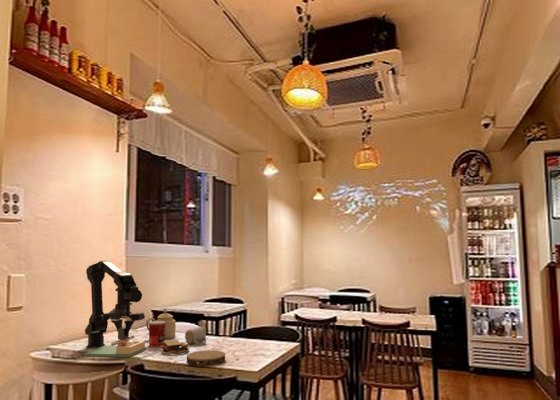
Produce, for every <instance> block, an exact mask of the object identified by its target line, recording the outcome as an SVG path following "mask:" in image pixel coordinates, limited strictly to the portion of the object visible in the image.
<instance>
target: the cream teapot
mask: <svg viewBox="0 0 560 400" xmlns="http://www.w3.org/2000/svg"><path fill="white" fill-rule="evenodd" d="M173 317H174V315H172V314H170V313H168V310H167V308H164V309H163V313H161V314H159V315H158V316H157V319H156V320H155V318H153V317H149V318H148V319H146V321H145V322H146V323H145V326H146V330H147V331H149V322H150V321H151V320H152V321H165V340H167V339H172V338H174V337H176V324H177V323H176V319H174V318H173Z"/></svg>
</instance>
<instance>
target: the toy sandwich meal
mask: <svg viewBox="0 0 560 400" xmlns="http://www.w3.org/2000/svg"><path fill="white" fill-rule="evenodd" d="M188 347H189V344H188V343H186V344H185V343H184V342H183V341H181V342H180V341H179V340H178V339H168V340H167V339H166V340H165V341H163V345H162V346H160V348H161V352H160V353H162V354H163V353H164V354H163V355H165V354H180V355H182V354H181V353H185V354H187V353H189V351H190V348H188ZM186 352H187V353H186Z"/></svg>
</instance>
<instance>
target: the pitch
mask: <svg viewBox="0 0 560 400" xmlns="http://www.w3.org/2000/svg"><path fill="white" fill-rule="evenodd" d="M132 341H133V342H134V343H135V344H134V345H131V346H118V345H114V346H112V345H103V346H100V347H97V348H95V349H93V350H90V351H87V352H85V353H84V354H83V356H87V357H108V358H109V357H110V358H111V357H112V358H130V357H132V356H134V355H136V353H137V354H139V353H141V352H143V350H144V351H146V350H147V349H148V346H146V341H145V340H144V341H142V340H132ZM145 349H146V350H145Z"/></svg>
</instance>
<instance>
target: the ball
mask: <svg viewBox="0 0 560 400" xmlns="http://www.w3.org/2000/svg"><path fill="white" fill-rule="evenodd" d="M133 341H134V340H129V341H128V342H126V344H125V346H131V345H134V344H135V343H134V342H133Z"/></svg>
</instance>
